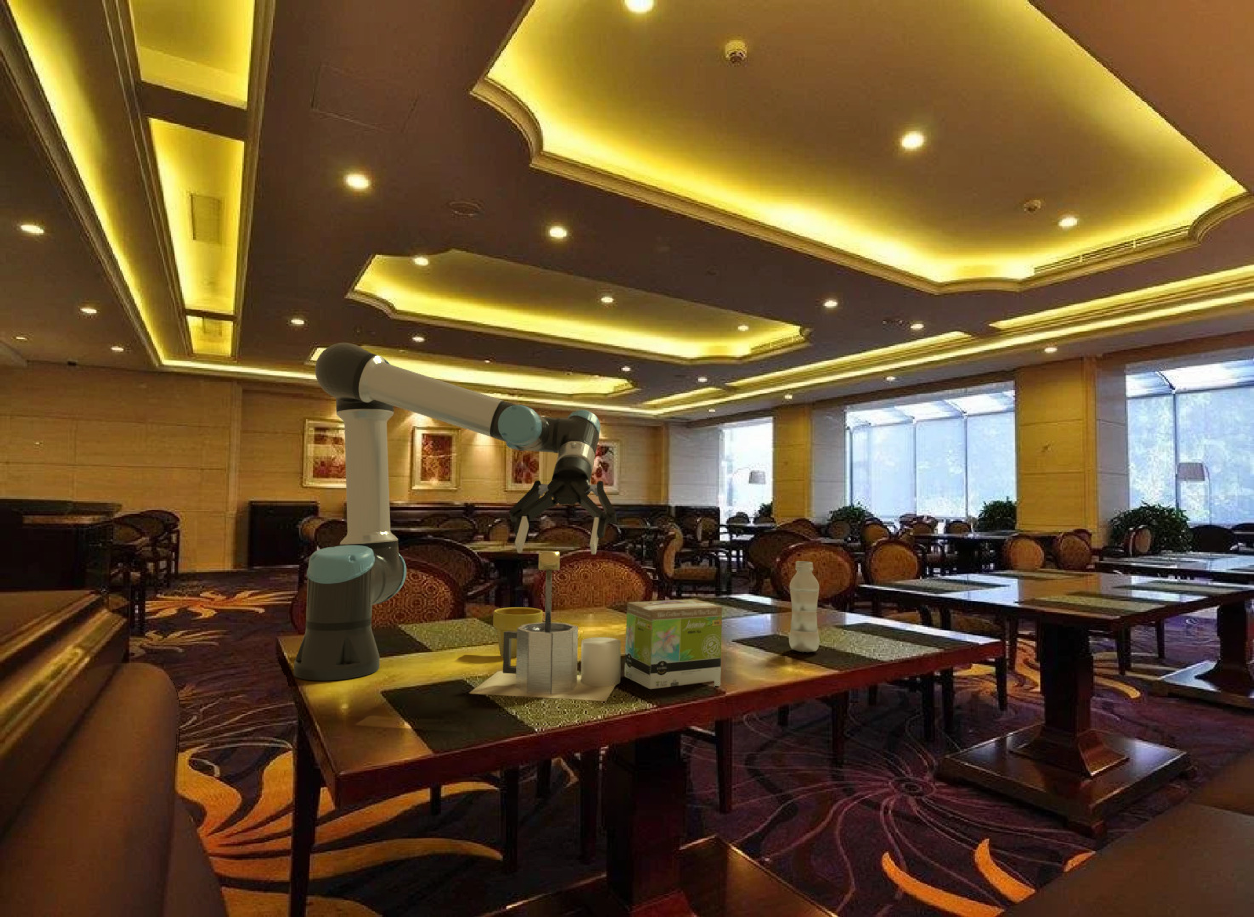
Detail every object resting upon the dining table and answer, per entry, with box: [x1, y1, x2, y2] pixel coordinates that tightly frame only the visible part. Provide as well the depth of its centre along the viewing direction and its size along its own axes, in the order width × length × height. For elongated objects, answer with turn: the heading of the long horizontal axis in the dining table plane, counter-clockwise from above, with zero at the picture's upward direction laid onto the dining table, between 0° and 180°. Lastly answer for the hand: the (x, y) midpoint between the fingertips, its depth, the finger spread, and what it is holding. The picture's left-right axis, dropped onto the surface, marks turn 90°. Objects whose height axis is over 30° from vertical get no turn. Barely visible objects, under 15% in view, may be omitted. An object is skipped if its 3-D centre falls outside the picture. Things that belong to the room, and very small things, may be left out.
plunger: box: [533, 550, 561, 632], centre depth 119 cm, size 7×7×15 cm
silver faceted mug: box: [502, 621, 579, 695], centre depth 118 cm, size 13×10×10 cm
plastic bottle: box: [788, 560, 820, 653], centre depth 154 cm, size 6×7×20 cm
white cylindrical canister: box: [580, 636, 622, 687], centre depth 122 cm, size 7×7×7 cm
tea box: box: [624, 599, 723, 690], centre depth 125 cm, size 15×10×15 cm, turn 117°
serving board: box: [469, 670, 616, 702], centre depth 119 cm, size 23×15×1 cm, turn 82°
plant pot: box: [492, 606, 544, 658], centre depth 144 cm, size 10×10×10 cm
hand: (555, 548), depth 122 cm, fingers open, 13 cm apart
